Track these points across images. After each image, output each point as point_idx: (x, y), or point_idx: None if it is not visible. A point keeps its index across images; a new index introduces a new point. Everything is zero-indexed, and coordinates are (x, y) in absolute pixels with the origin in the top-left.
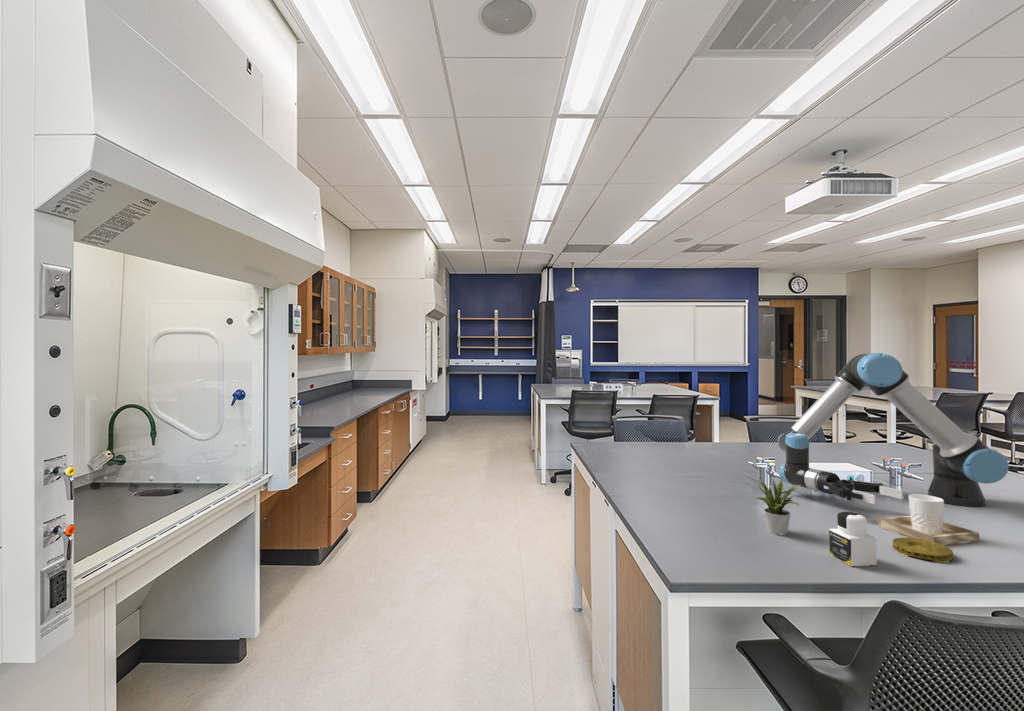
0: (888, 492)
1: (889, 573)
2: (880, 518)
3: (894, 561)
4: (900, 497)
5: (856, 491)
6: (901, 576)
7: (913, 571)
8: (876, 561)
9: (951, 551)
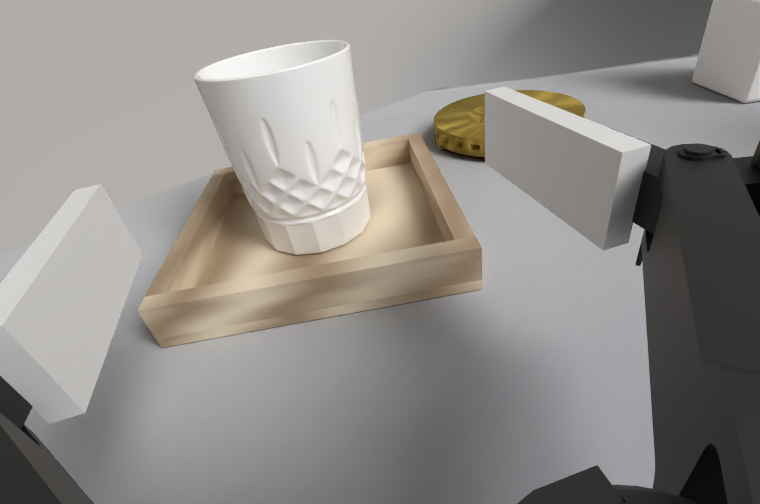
0: (92, 296)
1: (672, 71)
2: (466, 245)
3: (626, 99)
4: (133, 250)
5: (609, 131)
6: (649, 70)
7: (606, 83)
8: (695, 70)
9: (450, 105)
